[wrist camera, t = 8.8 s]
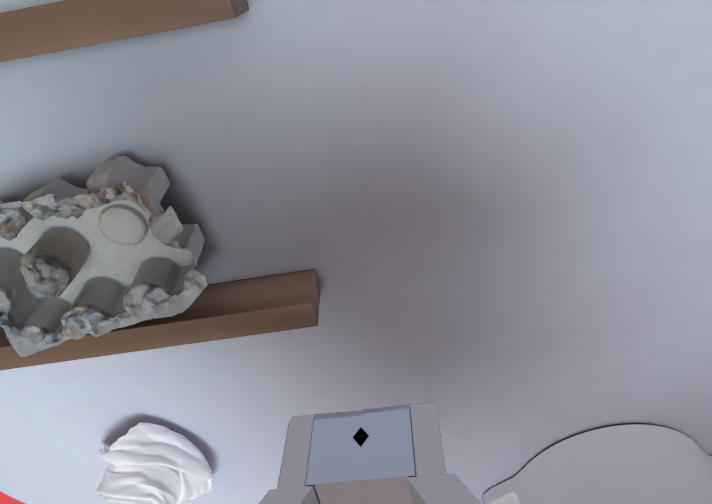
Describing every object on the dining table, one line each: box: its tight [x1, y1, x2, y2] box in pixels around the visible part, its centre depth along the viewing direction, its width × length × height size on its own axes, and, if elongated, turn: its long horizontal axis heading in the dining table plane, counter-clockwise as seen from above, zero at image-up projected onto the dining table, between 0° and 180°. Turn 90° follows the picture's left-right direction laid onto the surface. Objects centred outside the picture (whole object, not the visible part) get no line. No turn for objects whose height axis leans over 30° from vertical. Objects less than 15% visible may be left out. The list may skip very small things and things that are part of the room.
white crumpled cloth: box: [96, 423, 213, 504], centre depth 33 cm, size 8×7×5 cm
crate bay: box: [0, 0, 320, 370], centre depth 23 cm, size 16×20×3 cm
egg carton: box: [0, 156, 208, 357], centre depth 23 cm, size 11×8×4 cm
